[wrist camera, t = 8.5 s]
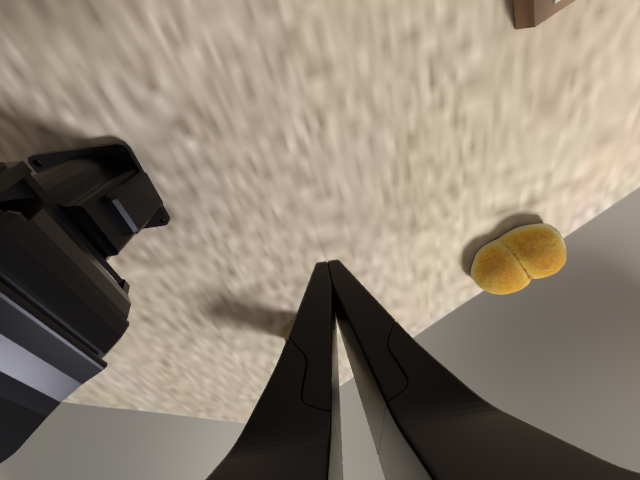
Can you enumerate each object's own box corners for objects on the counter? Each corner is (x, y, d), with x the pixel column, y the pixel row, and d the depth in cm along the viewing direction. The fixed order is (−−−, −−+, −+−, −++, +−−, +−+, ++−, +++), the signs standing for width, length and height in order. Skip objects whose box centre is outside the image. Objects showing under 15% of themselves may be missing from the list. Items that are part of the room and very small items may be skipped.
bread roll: (455, 258, 27) (477, 284, 24) (538, 207, 24) (576, 229, 21) (480, 290, 32) (502, 317, 28) (554, 250, 28) (588, 275, 25)
